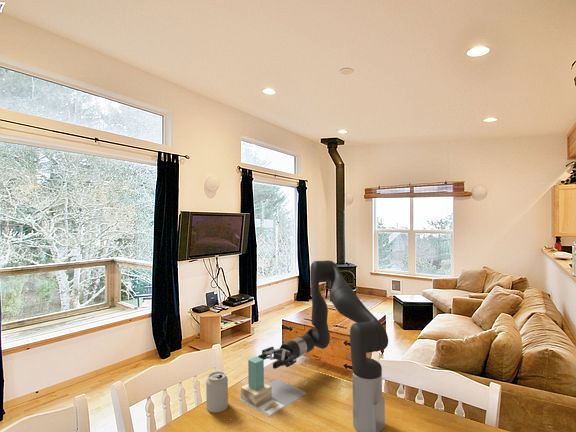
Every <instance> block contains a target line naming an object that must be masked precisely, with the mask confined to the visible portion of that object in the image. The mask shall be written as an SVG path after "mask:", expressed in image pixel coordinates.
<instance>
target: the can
mask: <svg viewBox="0 0 576 432" xmlns="http://www.w3.org/2000/svg"><path fill="white" fill-rule="evenodd" d="M228 380H229V378H228V376H227V375H226V372H223V371H214V372H211V373H209V374H208V375H207V378H206V380H205V384H206V385H205V388H206V389H205V396H206V402H205V403H206V410H207V411H208V412H210V413H213V414H214V413H220V412H224V411H225V410H227V408H228V407H229V385H228V384H229V383H228V382H229V381H228Z"/></svg>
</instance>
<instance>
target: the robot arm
mask: <svg viewBox="0 0 576 432" xmlns="http://www.w3.org/2000/svg"><path fill="white" fill-rule="evenodd" d="M309 269H310V270H309V271H310V272H309V273H310V274H309V275H310V291H311V293H310V294H311V305H312V306H311V319H310V320H311V325H312V326H313V327H311V328H309V329H308V330H307V331H306V332H305V333H304V334H303V335H301V336H299V337H296V338H292V339H291V340H288V341H285V342H283V343H282V344H281V345H280V346H279V348H277V349H276V348H274V346H270V347H267V348H264V349H262V350H261V354H259V355H257V357H259V358H261V359H263V360H271V361H272V360H273V361H274V360H276V361H274V362H273V363H272V369H274V370H275V369H278V368H280V367H284V366H285V367H286V368H289V367H290V366H292V365H294V364H296V363H297V360H298V359H299V358H301V357H304V355H305V354H308V353H310V352H311V351H312V350H314V348H315V347H317V348H319V349H326V348H327V347H328V346H329V344H330V340H331V339H330V338H331V335H330V330H329V326H328V315H329V309H328V304H327V302H326V301H325V300H326V299H324V296H323V295H322V293H321V291H320V283H332V285H331V286H332V287H331V289H330V292H329V298H330V301H331V303H332V304H333V306H334V308H335V309H336V310H337V312H338V313H340V315H342V316H343V317H345V318H347V319H349V320H351V321H353V322H354V323H353V324H352V325H351V326H350V329H349V342H350V343H349V344H350V358H351V359H350V360H351V366H352V367H351V368H352V425H353V428H354V429H355V430H357V431H358V432H381V431H382V430H383V429H384V428H385V427H386V410H385V408H386V403H385V402H386V399H385V397H384V396H383V374H382V373H383V368H382V364H381V363H380V362H379V361H378V360H376V359H374V358H369V357H367V353H376V352H380V351H384V350H385V349H386V348H388V346H389V337H388V334H387V331H386V328H385V327H384V326H383V324H382V323H381V321H379V320H378V318H376V316H374V315H373V313H371V311H370V310H369V309H368V308H367V307H366V305H364V304H363V302H362V301H361V300H360V298H359V297H358V295H357V294H356V292H355V291H354V289H353V288H352V287H351V286H350V285H349V283H348V282H347V280H345V278H344V276H343V274H342V273H341V271H340V269H339V267H338V266H337V264H336V263H335V262H334V261H332V260H314V261H313V262H312V263H311V265H310V268H309Z"/></svg>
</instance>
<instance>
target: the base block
mask: <svg viewBox="0 0 576 432" xmlns="http://www.w3.org/2000/svg"><path fill="white" fill-rule="evenodd" d="M271 397H272V386H270V385H268V383H266V382H264V387H262V388H260V389H258V390H256V391H255V390H253V389H252V388H250V387H249V382H248V383H246V384H245V385H241V387H240V398H242V399H244V400H245V401H247V402H249V403H251V404H252V405H254V406H257V405H259V404H260V403H262V402H264V401H266V400H267V399H269V398H271Z"/></svg>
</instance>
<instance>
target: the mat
mask: <svg viewBox="0 0 576 432" xmlns="http://www.w3.org/2000/svg"><path fill="white" fill-rule="evenodd" d="M267 384H268V385H270V386H272V397H271V398H269V399H267V400H266V401H264V402H262V403H260V404H259V405H257V406H254V405H252V404H251V403H249V402H247V401H245V400H244V399H242V398H241V397H240V398H238V400H239V401H241V402H243V403H244V404H247V406H249V407H251V408H253V409H255V410H256V411H258V412H260V413H261V414H263V415H265V416H266V417H268V418H270V417H273V415H274V414H276V413H278V412H280V411H281V410H283V409H284V408H285V407H287V406H289V405H291V404H292V403H294V402H296V401H297V400H298V399H300V398H302V397H303V396H305V395H307V394H308V392H307V391H305V390H303V389H301V388H298V387H295V386H294V385H292V384H289V383H287V382H285V381H283V380H281V379H279V378H276V379H275V380H272V381H271V382H268V383H267Z"/></svg>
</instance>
